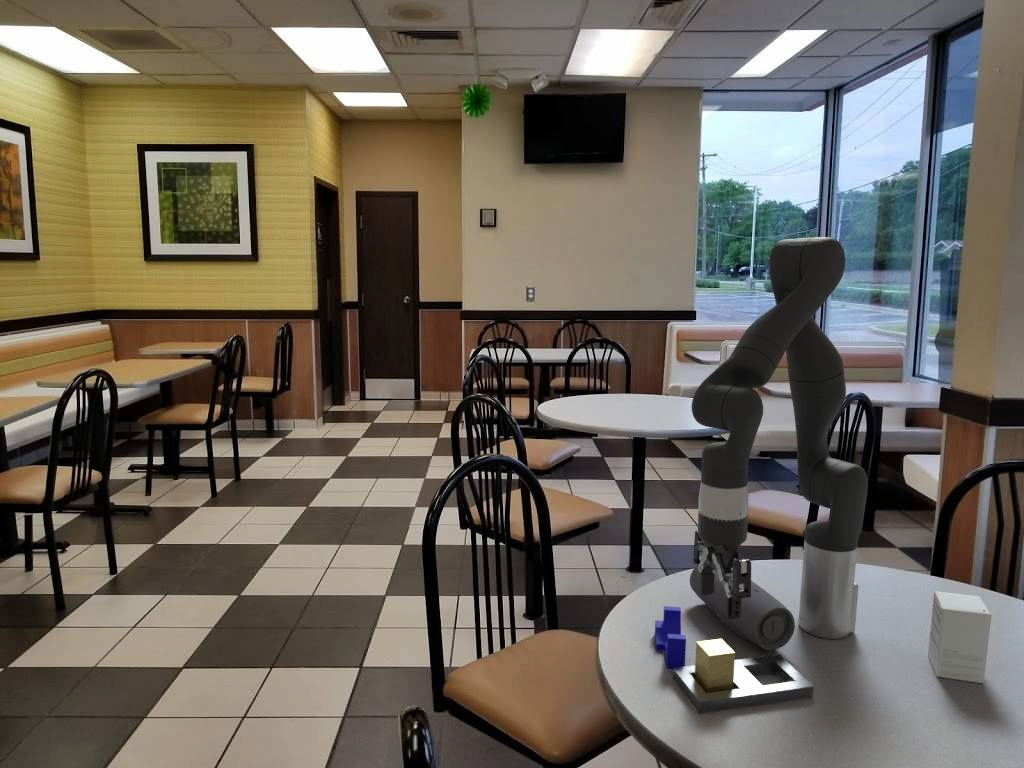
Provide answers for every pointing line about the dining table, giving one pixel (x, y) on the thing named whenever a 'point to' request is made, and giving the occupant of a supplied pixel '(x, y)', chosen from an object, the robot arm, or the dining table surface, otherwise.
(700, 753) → the dining table surface
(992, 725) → the dining table surface
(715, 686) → the tan rectangular block
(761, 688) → the grey flat frame
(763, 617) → the bluetooth speaker
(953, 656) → the supplement box
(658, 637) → the cable clip
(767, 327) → the robot arm
